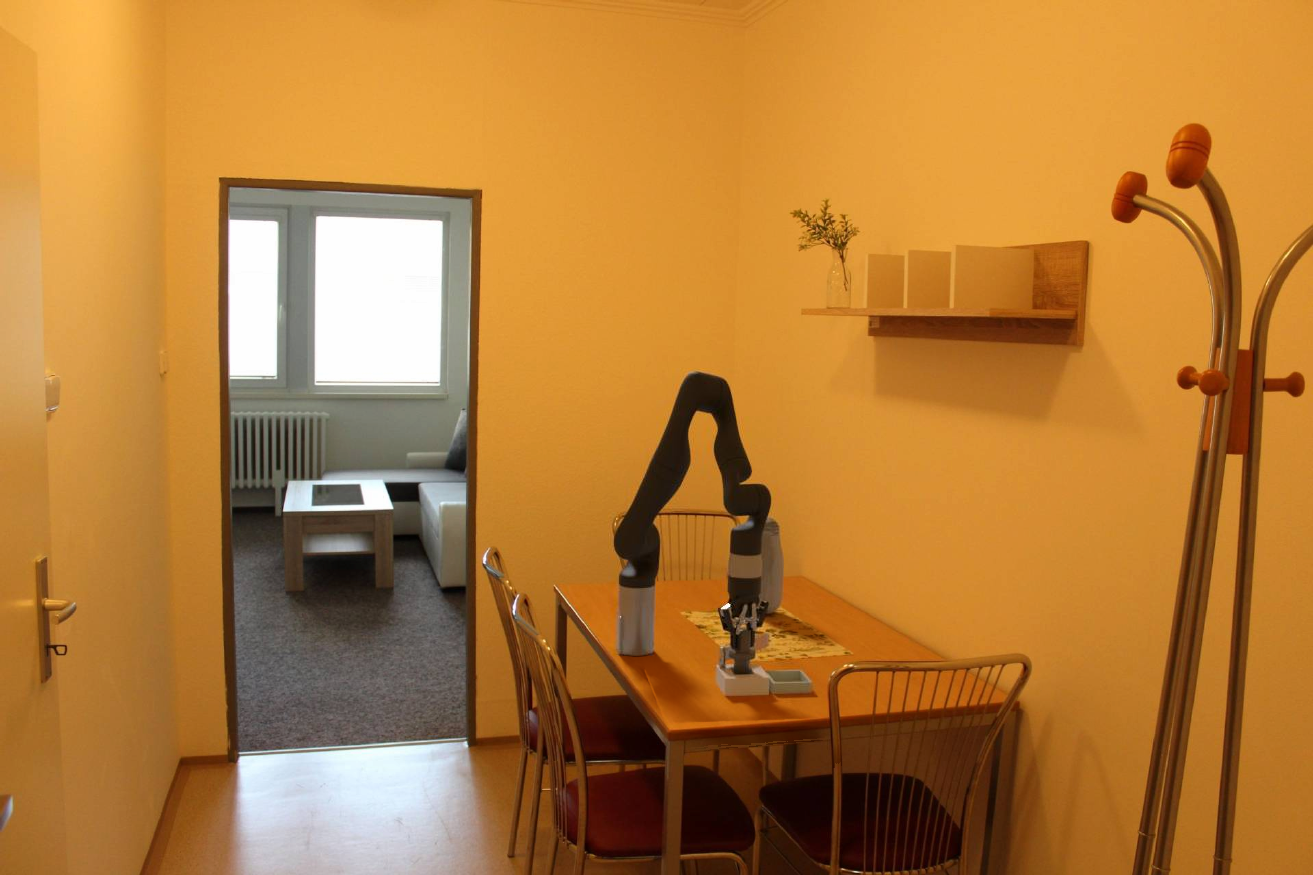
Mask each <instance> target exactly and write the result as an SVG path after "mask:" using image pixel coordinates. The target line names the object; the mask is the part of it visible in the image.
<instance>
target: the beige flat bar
mask: <svg viewBox="0 0 1313 875" xmlns="http://www.w3.org/2000/svg"><path fill="white" fill-rule="evenodd" d="M769 643H770V634H769V633H767V632H762V633H759V634H755V643H754V646H753V647H751V648H750V649H753V650H755V651H756V652H757V651H760V650H764V649H766V648H768V647H770V644H769ZM729 649H731V646H730V643H729V644H727V645H725V646H719V649H718V651H719V652H718V653H719V654H718V665H719V668H726V665H727V661H729V660H732V658H730V657H729Z"/></svg>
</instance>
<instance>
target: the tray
mask: <svg viewBox="0 0 1313 875" xmlns="http://www.w3.org/2000/svg"><path fill="white" fill-rule="evenodd" d="M764 671H765V672H766V674H767V675H768V676H769V692H771V693H772V694H773V695H774V694H775V695H776V694H777V695H779V694H780V695H781V694H783V695H785V694H811V693H813V680H811V679H810V678H809V677H808V676H807V674H806V673H805V672H804V671H803V669H786V670H785V669H781V670H779V669H776V670H764Z"/></svg>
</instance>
